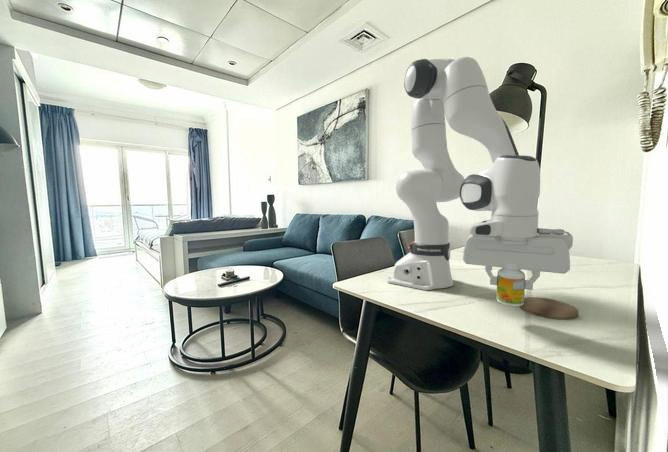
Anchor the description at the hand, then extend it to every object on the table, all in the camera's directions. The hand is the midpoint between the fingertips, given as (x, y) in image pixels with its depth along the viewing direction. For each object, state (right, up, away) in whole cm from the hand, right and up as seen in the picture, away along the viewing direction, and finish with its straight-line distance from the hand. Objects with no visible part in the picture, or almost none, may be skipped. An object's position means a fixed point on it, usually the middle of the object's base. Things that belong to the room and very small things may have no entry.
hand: (510, 286), depth 63 cm
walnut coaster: (+14, -7, +7) cm, 17 cm away
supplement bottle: (0, -4, 0) cm, 4 cm away
